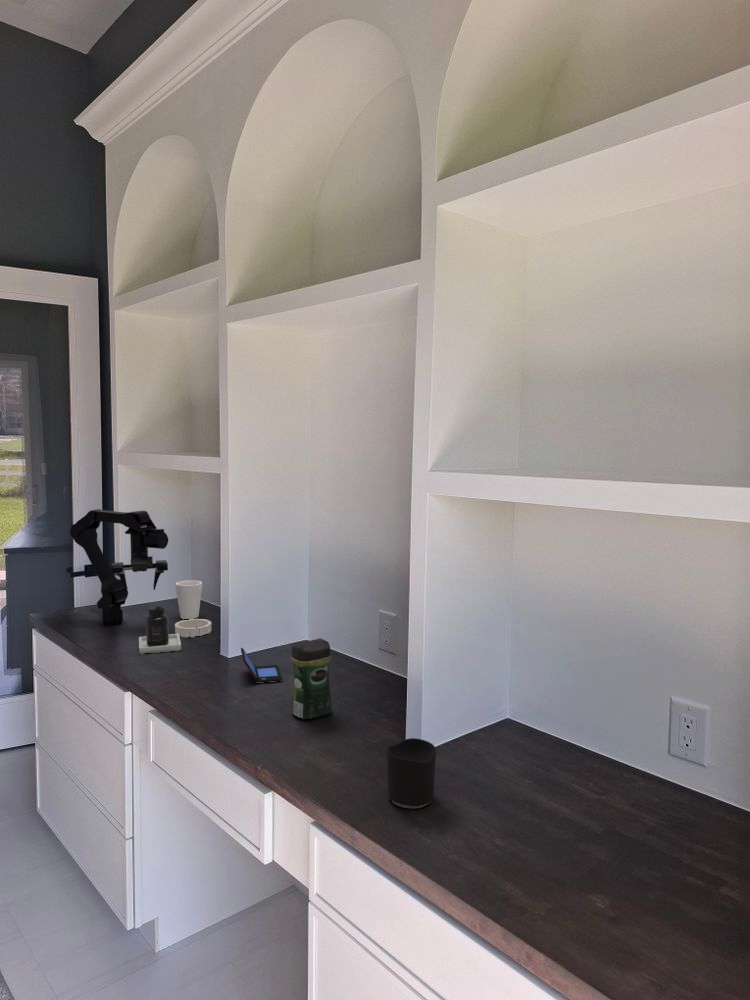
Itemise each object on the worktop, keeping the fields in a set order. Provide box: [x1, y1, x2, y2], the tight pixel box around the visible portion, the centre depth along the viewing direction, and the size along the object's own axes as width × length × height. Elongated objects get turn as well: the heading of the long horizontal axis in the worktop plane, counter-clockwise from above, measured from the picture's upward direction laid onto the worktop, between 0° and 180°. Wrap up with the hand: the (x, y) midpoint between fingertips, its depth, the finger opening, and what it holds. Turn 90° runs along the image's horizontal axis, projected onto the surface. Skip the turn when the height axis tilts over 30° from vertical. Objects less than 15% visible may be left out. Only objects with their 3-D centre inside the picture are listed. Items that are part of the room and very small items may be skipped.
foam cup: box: [175, 579, 203, 620], centre depth 262 cm, size 10×9×13 cm
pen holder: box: [386, 737, 437, 806], centre depth 135 cm, size 9×9×10 cm
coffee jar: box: [290, 637, 333, 720], centre depth 175 cm, size 10×8×19 cm
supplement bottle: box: [145, 606, 170, 647], centre depth 227 cm, size 7×7×12 cm
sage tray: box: [138, 633, 182, 655], centre depth 228 cm, size 13×13×2 cm
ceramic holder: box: [174, 618, 212, 638], centre depth 244 cm, size 12×12×3 cm
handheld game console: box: [240, 647, 283, 683], centre depth 202 cm, size 12×11×7 cm
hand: (140, 590), depth 249 cm, fingers open, 9 cm apart
